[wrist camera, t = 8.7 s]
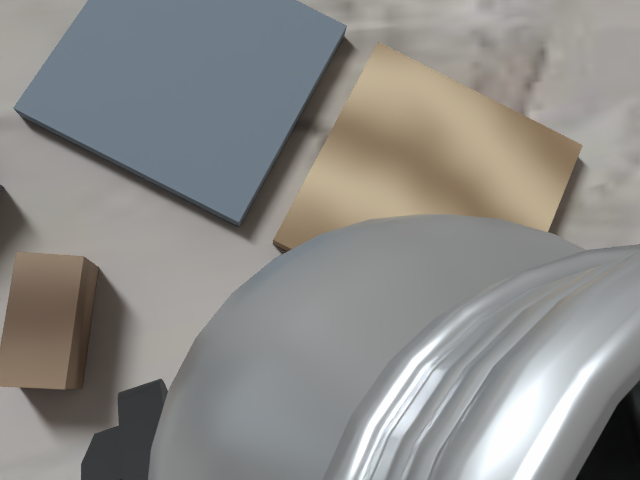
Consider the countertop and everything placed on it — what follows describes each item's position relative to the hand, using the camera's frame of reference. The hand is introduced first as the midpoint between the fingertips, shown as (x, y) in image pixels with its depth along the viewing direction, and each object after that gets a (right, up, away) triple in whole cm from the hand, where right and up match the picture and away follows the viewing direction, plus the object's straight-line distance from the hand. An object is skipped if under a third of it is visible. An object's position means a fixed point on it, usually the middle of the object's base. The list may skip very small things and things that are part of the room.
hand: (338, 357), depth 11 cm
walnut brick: (-13, -2, +19) cm, 23 cm away
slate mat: (-8, +11, +22) cm, 26 cm away
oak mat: (+6, +5, +22) cm, 23 cm away
